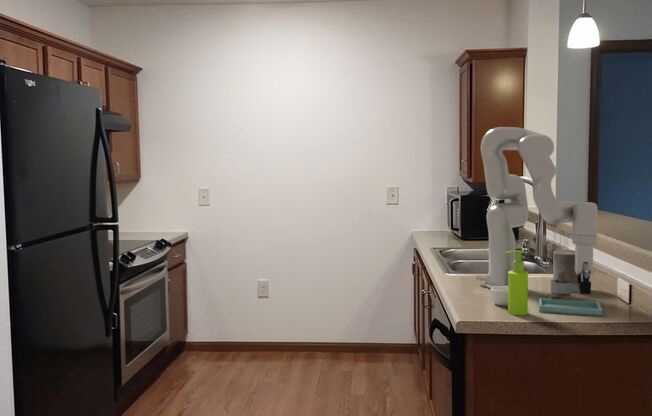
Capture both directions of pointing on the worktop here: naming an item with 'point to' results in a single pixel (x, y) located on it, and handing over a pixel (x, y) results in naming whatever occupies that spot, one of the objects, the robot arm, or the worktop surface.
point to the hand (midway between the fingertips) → (584, 290)
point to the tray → (570, 307)
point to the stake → (561, 280)
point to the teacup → (500, 295)
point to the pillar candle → (565, 264)
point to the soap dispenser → (517, 286)
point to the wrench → (564, 287)
